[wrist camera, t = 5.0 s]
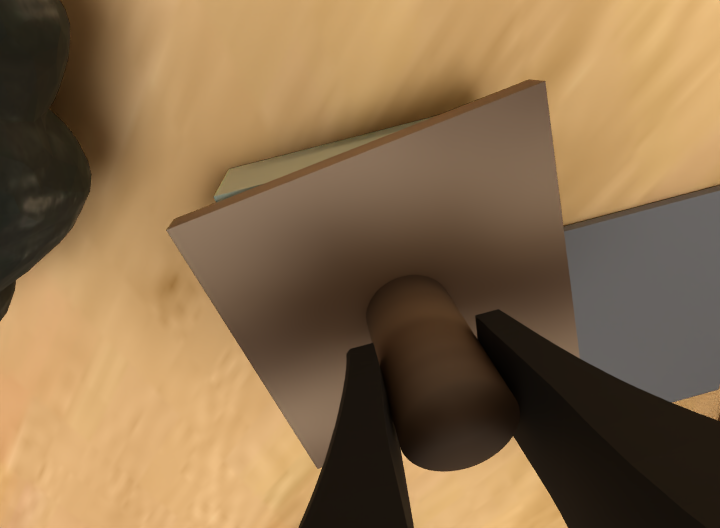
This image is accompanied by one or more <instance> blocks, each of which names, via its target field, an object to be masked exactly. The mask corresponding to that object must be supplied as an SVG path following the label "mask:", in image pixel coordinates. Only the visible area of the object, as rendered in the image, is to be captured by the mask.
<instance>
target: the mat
mask: <svg viewBox="0 0 720 528" xmlns="http://www.w3.org/2000/svg"><path fill="white" fill-rule="evenodd" d="M564 235H565V243H566V251H567V259H568V267H569V275H570V283H571V291H572V299H573V307H574V315H575V323H576V331H577V339H578V347H579V355H580V359H582V360H584V361H585V362H587V363H589V364H591V365H593V366H595V367H597V368H599V369H601V370H603V371H604V372H606V373H608V374H610V375H612V376H614V377H616V378H618V379H620V380H622V381H624V382H626V383H629V384H631V385H633V386H635V387H637V388H639V389H642V390H644V391H646V392H648V393H651V394H653V395H655V396H657V397H660V398H662V399H664V400H667V401H669V402H675V401H679V400H682V399H686V398H689V397H693V396H697V395H700V394H704V393H708V392H711V391H715V390H718V389H719V385H720V185H719V186H715V187H711V188H707V189H704V190H700V191H696V192H692V193H689V194H685V195H681V196H677V197H673V198H670V199H666V200H662V201H658V202H654V203H651V204H647V205H643V206H639V207H636V208H632V209H628V210H624V211H620V212H617V213H613V214H609V215H605V216H601V217H598V218H594V219H590V220H586V221H583V222H579V223H575V224H571V225H567V226H564Z"/></svg>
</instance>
